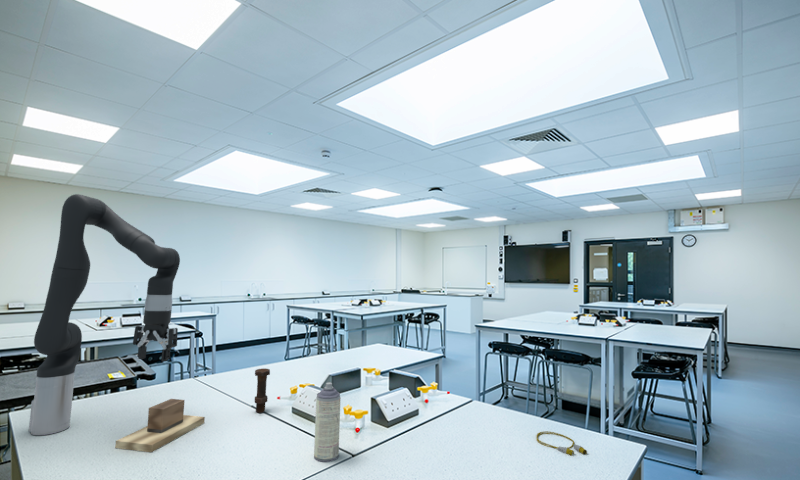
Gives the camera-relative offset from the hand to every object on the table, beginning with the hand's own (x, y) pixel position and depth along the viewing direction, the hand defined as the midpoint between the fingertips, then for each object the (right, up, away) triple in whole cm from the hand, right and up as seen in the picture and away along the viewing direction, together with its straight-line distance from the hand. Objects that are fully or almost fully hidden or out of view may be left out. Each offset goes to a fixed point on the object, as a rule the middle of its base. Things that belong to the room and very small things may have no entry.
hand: (153, 359), depth 124 cm
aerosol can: (+58, -23, -15) cm, 64 cm away
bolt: (+28, -25, +18) cm, 41 cm away
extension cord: (+128, -26, -4) cm, 131 cm away
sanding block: (+5, -21, -2) cm, 21 cm away
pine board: (+5, -22, -3) cm, 23 cm away
